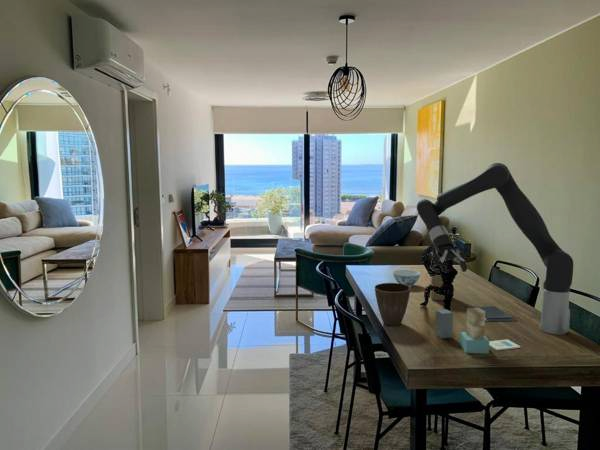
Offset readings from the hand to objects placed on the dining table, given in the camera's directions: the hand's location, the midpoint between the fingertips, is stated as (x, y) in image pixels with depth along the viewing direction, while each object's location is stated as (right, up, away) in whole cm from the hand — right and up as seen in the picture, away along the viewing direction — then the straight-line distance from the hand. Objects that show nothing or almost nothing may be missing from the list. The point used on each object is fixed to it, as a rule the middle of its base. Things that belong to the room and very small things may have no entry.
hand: (455, 271), depth 173 cm
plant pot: (-23, -24, +14) cm, 36 cm away
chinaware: (-1, -16, +75) cm, 76 cm away
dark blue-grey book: (+25, -23, +25) cm, 42 cm away
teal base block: (+2, -27, -13) cm, 30 cm away
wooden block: (+10, -19, +50) cm, 54 cm away
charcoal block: (-5, -25, -1) cm, 26 cm away
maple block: (+2, -22, -14) cm, 26 cm away
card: (+14, -27, -11) cm, 32 cm away
